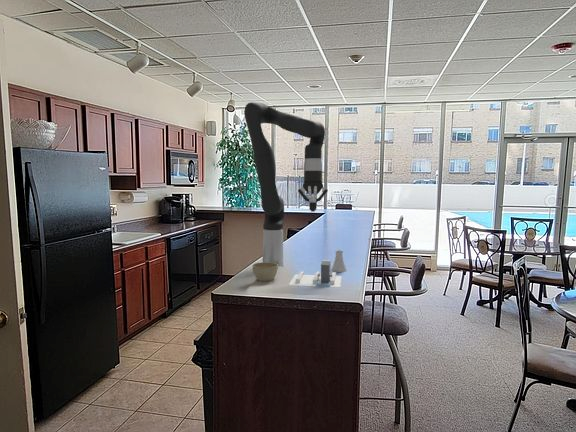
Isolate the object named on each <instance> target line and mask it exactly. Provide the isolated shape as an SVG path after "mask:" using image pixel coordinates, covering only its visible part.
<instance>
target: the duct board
mask: <svg viewBox="0 0 576 432" xmlns="http://www.w3.org/2000/svg"><path fill="white" fill-rule="evenodd" d="M341 283H342V275H337V272H334V271H332V272H331V273H330V281H329V283H321V271H316V272H315V274H305V270H299V273H297V274H296V273H295V274H294V275H293V277H292V279H291V280H290V282H289V283H288V286H304V287H305V286H306V287H307V286H308V287H324V288H325V287H326V288H327V287H328V288H331V287H332V288H341Z"/></svg>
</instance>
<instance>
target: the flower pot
mask: <svg viewBox="0 0 576 432" xmlns="http://www.w3.org/2000/svg"><path fill="white" fill-rule="evenodd" d="M278 267H279V266H278V264H276V263H270V262H263V261H261V262H255V263H253V264H252V271H253V274H254V277H255V279H256V280H257V281H259V282H271V281H274V279H276V278H275V277H276V275H277V272H278Z"/></svg>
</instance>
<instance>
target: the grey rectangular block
mask: <svg viewBox="0 0 576 432" xmlns="http://www.w3.org/2000/svg"><path fill="white" fill-rule="evenodd" d="M331 262H332V261H331V259H322V261H321V264H320V275H321V283H329V281H330V274H331V269H332V267H331Z"/></svg>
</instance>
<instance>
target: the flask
mask: <svg viewBox="0 0 576 432" xmlns="http://www.w3.org/2000/svg"><path fill="white" fill-rule="evenodd" d="M334 252H335V257H334V261H333V264H332V267H331V268H330V271H332V272H336V273H344V272H347V270H348V269H347V268H346V264H345V261H344V257H343V253H344V250H339V249H337V250H335V251H334Z"/></svg>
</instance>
